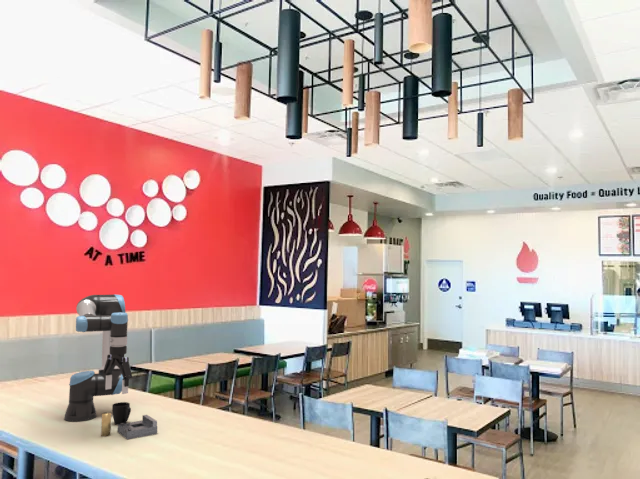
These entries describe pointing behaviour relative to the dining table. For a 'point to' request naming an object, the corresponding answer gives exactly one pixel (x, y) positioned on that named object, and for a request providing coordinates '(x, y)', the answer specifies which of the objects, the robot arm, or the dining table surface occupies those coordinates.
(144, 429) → the jig
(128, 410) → the mug
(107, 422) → the brass cylinder
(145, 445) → the dining table surface
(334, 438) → the dining table surface
